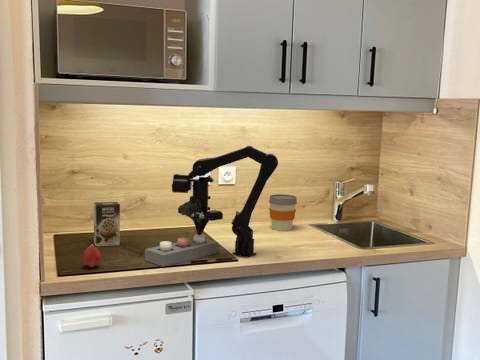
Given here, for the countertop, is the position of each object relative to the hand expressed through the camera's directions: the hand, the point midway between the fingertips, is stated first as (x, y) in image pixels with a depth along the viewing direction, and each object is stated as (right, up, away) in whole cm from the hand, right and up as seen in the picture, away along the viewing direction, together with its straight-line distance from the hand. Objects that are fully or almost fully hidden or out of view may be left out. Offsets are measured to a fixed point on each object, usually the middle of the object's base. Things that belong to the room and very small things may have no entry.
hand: (199, 234), depth 192 cm
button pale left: (-11, -4, -11) cm, 16 cm away
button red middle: (-6, -4, -5) cm, 9 cm away
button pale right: (0, -3, 0) cm, 3 cm away
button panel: (-6, -7, -5) cm, 10 cm away
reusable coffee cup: (+34, -2, +44) cm, 55 cm away
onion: (-34, -9, -21) cm, 41 cm away
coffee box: (-37, -5, +8) cm, 38 cm away
